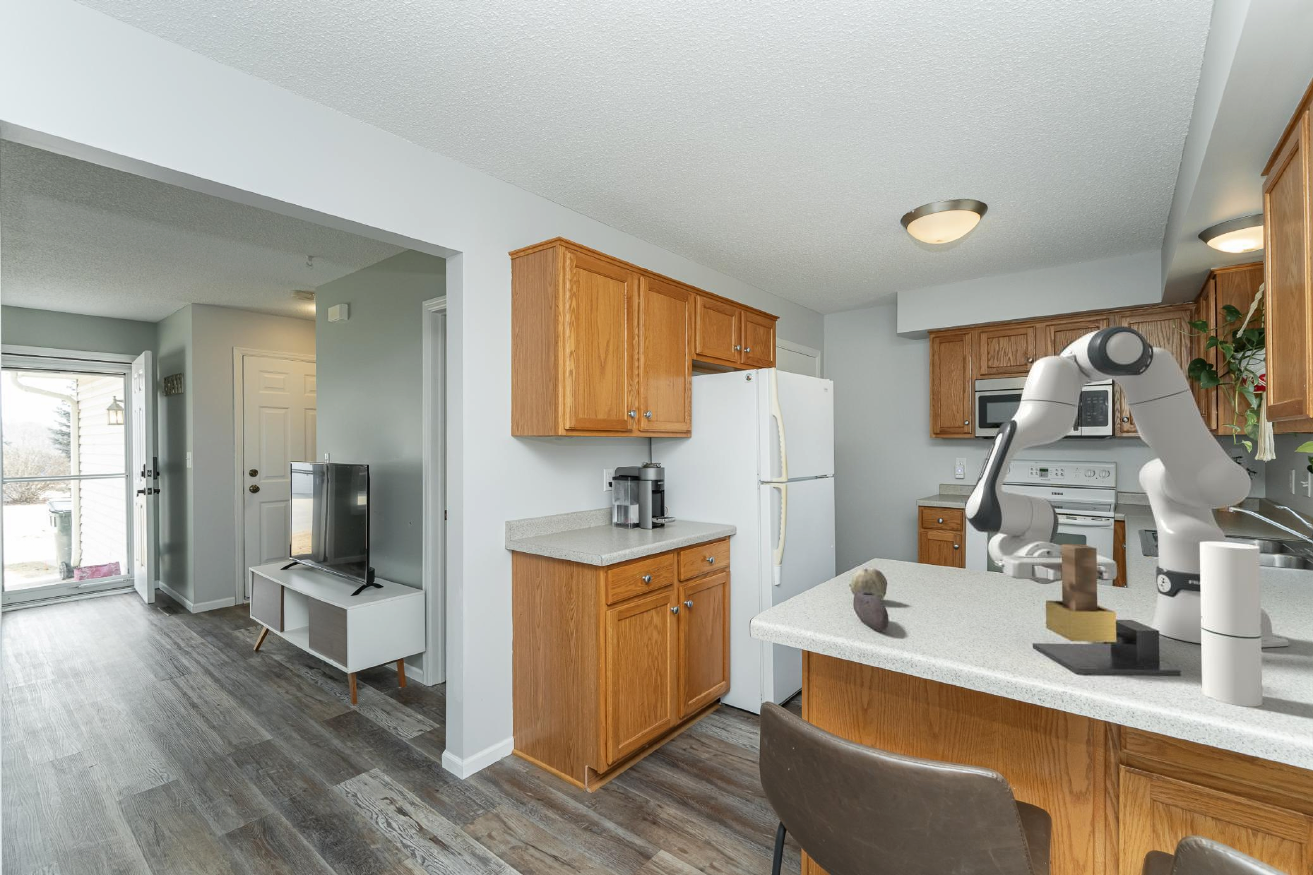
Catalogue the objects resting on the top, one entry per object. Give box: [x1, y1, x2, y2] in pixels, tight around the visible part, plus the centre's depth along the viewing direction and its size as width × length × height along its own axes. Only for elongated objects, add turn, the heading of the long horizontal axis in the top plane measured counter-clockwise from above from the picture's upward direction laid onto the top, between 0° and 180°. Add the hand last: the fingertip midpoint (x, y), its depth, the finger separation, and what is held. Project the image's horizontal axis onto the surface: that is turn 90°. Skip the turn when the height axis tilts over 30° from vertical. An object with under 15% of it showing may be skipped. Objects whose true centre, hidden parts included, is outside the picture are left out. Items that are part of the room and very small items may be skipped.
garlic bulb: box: [848, 567, 888, 601], centre depth 160 cm, size 9×8×10 cm
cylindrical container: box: [1200, 541, 1263, 708], centre depth 99 cm, size 7×7×25 cm
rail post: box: [1061, 544, 1098, 611], centre depth 116 cm, size 4×4×16 cm
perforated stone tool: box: [853, 590, 889, 632], centre depth 139 cm, size 15×5×7 cm, turn 178°
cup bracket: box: [1032, 600, 1182, 677], centre depth 115 cm, size 18×14×10 cm
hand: (1082, 575), depth 115 cm, fingers open, 8 cm apart
